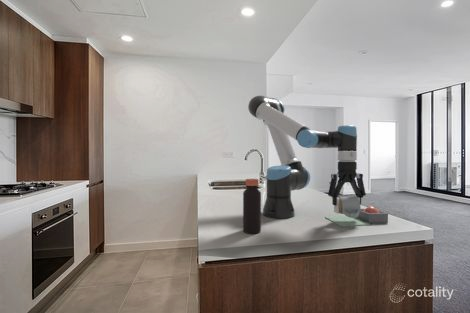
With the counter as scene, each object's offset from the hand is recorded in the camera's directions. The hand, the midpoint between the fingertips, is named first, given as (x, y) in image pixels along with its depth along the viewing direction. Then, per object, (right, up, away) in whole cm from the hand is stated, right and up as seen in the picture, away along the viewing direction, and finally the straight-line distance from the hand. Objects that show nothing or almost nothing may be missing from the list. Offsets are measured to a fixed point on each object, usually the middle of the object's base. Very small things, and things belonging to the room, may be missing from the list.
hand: (346, 212), depth 105 cm
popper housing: (+12, -4, +2) cm, 13 cm away
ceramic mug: (0, -1, -2) cm, 3 cm away
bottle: (-43, -4, -13) cm, 45 cm away
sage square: (0, -4, 0) cm, 4 cm away
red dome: (+12, -3, +2) cm, 12 cm away
